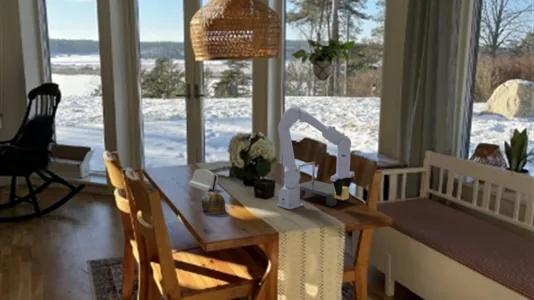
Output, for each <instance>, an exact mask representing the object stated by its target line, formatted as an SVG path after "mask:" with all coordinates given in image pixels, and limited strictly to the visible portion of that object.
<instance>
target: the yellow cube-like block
mask: <svg viewBox="0 0 534 300" xmlns="http://www.w3.org/2000/svg"><path fill="white" fill-rule="evenodd" d="M349 192H350V187H346V186H343V187H342V194H341V196H337V195H336V192H334V195H333V196H334V198H336V199H338V200H341V201H342V200H345V199H349Z"/></svg>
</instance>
